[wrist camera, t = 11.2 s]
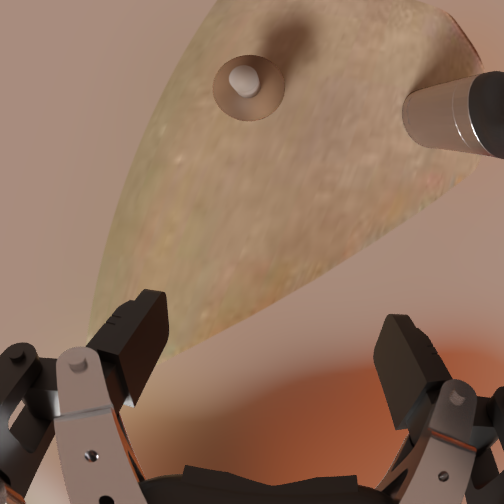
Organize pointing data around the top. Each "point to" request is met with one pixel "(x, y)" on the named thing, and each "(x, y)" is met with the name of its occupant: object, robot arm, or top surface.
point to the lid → (248, 88)
